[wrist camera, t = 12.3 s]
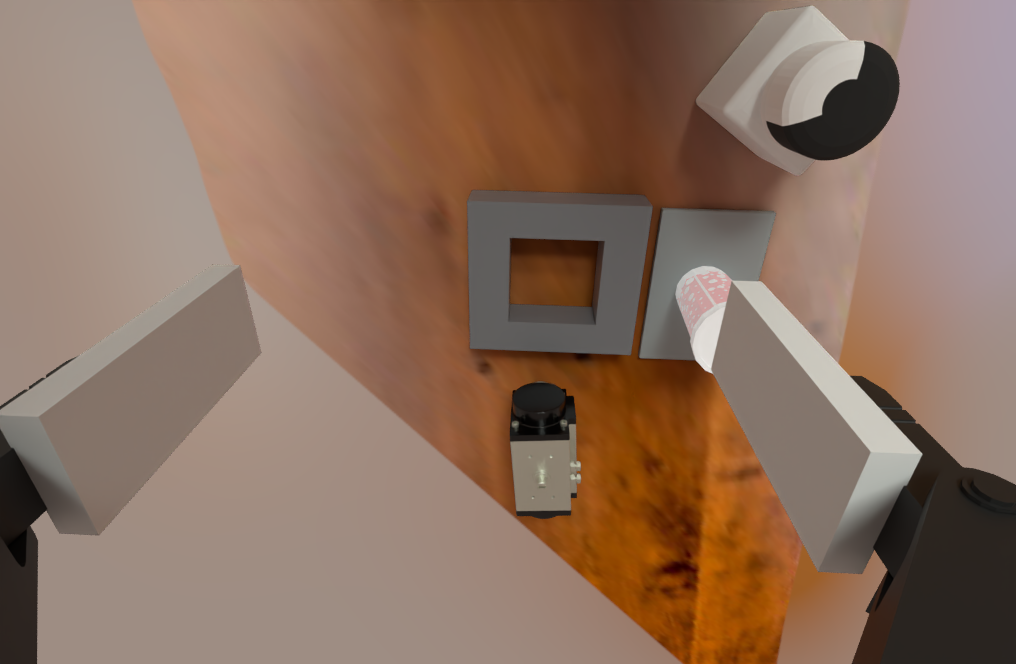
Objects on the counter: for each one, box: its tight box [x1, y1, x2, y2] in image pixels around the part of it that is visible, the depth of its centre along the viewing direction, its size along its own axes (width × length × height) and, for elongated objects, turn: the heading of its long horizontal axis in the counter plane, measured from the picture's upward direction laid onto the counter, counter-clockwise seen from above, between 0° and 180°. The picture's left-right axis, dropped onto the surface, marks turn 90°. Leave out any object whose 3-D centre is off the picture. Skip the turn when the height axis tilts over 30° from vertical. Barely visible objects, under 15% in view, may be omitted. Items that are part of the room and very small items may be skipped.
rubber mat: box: [638, 208, 776, 360], centre depth 46 cm, size 14×9×1 cm, turn 179°
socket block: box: [467, 190, 653, 355], centre depth 45 cm, size 13×14×4 cm
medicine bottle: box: [696, 6, 900, 176], centre depth 34 cm, size 7×7×12 cm
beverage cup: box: [675, 266, 732, 374], centre depth 40 cm, size 6×6×14 cm
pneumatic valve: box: [510, 381, 581, 519], centre depth 48 cm, size 6×12×12 cm, turn 4°
